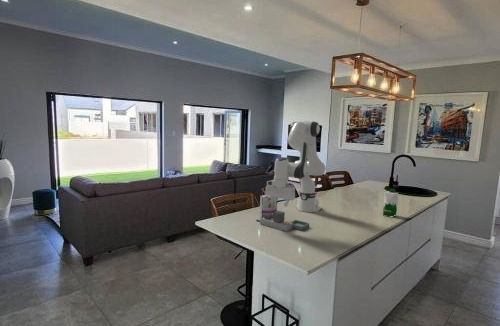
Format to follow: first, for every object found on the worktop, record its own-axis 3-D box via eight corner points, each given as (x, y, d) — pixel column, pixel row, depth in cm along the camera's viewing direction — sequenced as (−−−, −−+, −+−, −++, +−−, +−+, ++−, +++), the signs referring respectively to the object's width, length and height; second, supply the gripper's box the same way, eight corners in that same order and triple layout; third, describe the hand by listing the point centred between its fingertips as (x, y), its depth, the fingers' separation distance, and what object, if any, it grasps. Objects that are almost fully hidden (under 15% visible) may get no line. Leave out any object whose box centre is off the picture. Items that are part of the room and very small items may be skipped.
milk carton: (397, 215, 223) (399, 190, 220) (393, 218, 216) (395, 191, 214) (385, 213, 229) (387, 188, 226) (381, 215, 222) (383, 189, 220)
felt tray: (295, 223, 195) (295, 219, 195) (309, 226, 189) (309, 223, 189) (287, 227, 187) (287, 223, 187) (301, 230, 181) (301, 226, 181)
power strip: (253, 222, 195) (253, 214, 194) (259, 219, 200) (259, 211, 200) (286, 231, 179) (287, 222, 179) (292, 228, 185) (292, 220, 184)
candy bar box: (274, 217, 208) (275, 194, 206) (276, 219, 203) (277, 196, 201) (259, 217, 205) (260, 194, 203) (261, 220, 200) (262, 196, 198)
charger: (272, 224, 186) (273, 212, 185) (277, 222, 190) (278, 210, 189) (279, 226, 183) (280, 213, 182) (284, 224, 187) (284, 212, 186)
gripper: (297, 184, 180) (296, 206, 181) (270, 180, 192) (269, 201, 193) (292, 186, 175) (291, 208, 176) (264, 181, 187) (263, 202, 188)
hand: (279, 204), depth 185 cm, fingers open, 8 cm apart
